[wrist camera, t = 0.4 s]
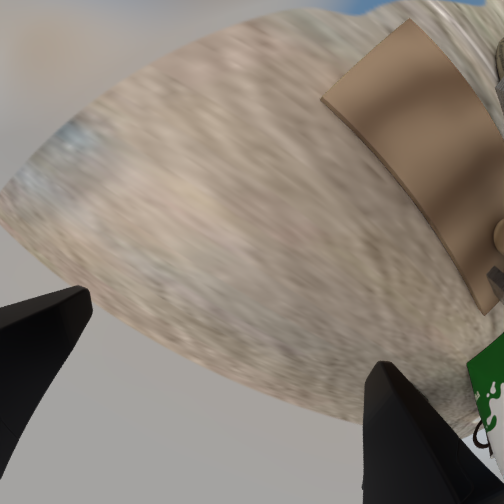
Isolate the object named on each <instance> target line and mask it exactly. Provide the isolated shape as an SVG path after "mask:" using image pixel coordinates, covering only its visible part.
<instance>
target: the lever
mask: <svg viewBox="0 0 504 504" xmlns="http://www.w3.org/2000/svg"><path fill="white" fill-rule="evenodd" d="M495 90H496V92H497V95H498V98H499V101H500V104H501V108H502V111H503V114H504V77H503V78H502V79H501V81H500V82H499V83H498V85H497V86H496V87H495Z"/></svg>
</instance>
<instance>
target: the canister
mask: <svg viewBox="0 0 504 504" xmlns="http://www.w3.org/2000/svg"><path fill="white" fill-rule="evenodd" d="M496 64H497V69H498V73H499V77H500V81H501V79H502V78H503V77H504V38H503V39H502V40H501V41H500V42H499V45H498V48H497V55H496Z"/></svg>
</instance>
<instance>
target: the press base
mask: <svg viewBox="0 0 504 504" xmlns="http://www.w3.org/2000/svg"><path fill="white" fill-rule="evenodd" d="M320 100H321V101H322V102H323V103H324V104H325V105H326V106H327V107H328V108H329V109H331V110H332V111H333V112H334V113H335V114H336V115H337V116H338V117H339V118H340V119H341V120H342V121H343V122H344V123H345V124H346V125H347V126H348V127H349V128H350V129H351V130H352V131H353V132H354V133H355V134H356V135H357V136H358V137H359V138H360V139H361V140H362V141H363V142H364V143H365V144H366V145H367V146H368V148H369V149H370V150H371V151H372V152H373V153H374V154H375V155H376V156H377V157H378V159H379V160H380V161H381V162H382V163H383V164H384V166H385V167H386V168H387V169H388V170H389V171H390V173H391V174H392V175H393V176H394V177H395V179H396V180H397V181H398V182H399V184H400V185H401V186H402V187H403V189H404V190H405V191H406V192H407V194H408V195H409V196H410V198H411V199H412V200H413V202H414V203H415V204H416V206H417V207H418V208H419V210H420V211H421V213H422V214H423V215H424V217H425V218H426V220H427V221H428V223H429V224H430V225H431V227H432V228H433V230H434V231H435V233H436V234H437V236H438V237H439V239H440V241H441V242H442V244H443V245H444V247H445V248H446V250H447V252H448V253H449V255H450V257H451V258H452V260H453V262H454V263H455V265H456V267H457V269H458V270H459V272H460V274H461V276H462V278H463V279H464V281H465V283H466V285H467V287H468V289H469V291H470V293H471V295H472V297H473V299H474V301H475V303H476V305H477V307H478V309H479V310H480V311H481V312H482V314H483V315H484V316H485V315H486V314H487V313H488V312H489V311H490V310H491V309H492V308H493V307H494V306H495V305H496V304H497V303H498V302H499V301H500V300H499V299H498V298H497V297H496V296H495V295H494V293H493V290H492V288H491V285H490V283H489V281H488V278H487V276H486V274H487V273H488V272H489V271H490V269H491V268H492V267H493V266H494V265H495V266H496V267H497V268H498V269H499V270H500V271H501V272H503V273H504V255H503V254H501V253H500V252H499V251H498V250H497V248H496V246H495V243H494V230H495V227H496V225H497V224H498V223H499V222H500V221H501V220H502V219H504V140H503V138H502V136H501V134H500V132H499V131H498V129H497V127H496V125H495V123H494V122H493V120H492V118H491V117H490V115H489V113H488V112H487V110H486V109H485V107H484V105H483V104H482V102H481V101H480V99H479V98H478V96H477V95H476V94H475V92H474V91H473V89H472V88H471V86H470V85H469V84H468V82H467V81H466V80H465V78H464V77H463V76H462V74H461V73H460V72H459V71H458V69H457V68H456V67H455V66H454V64H453V63H452V62H451V61H450V60H449V58H448V57H447V56H446V55H445V54H444V53H443V51H442V50H441V49H440V48H439V47H438V46H437V45H436V44H435V43H434V42H433V41H432V39H431V38H430V37H429V36H428V35H427V34H426V33H425V32H424V31H423V30H422V29H421V28H420V27H419V26H418V25H417V24H415V23H414V22H413V21H412V20H411V19H410V18H409V19H408V20H407V21H405V22H404V23H403V24H402V25H401V26H399V27H398V28H397V29H396V30H395V31H393V32H392V33H391V34H390V35H389V36H387V37H386V38H385V39H384V40H383V41H382V42H380V43H379V44H378V45H377V46H376V47H375V48H374V49H372V50H371V51H370V52H369V53H368V54H367V55H366V56H365V57H363V58H362V59H361V60H360V61H359V62H358V63H357V64H356V65H355V66H354V67H353V68H351V69H350V70H349V71H348V72H347V73H346V74H345V75H344V76H343V77H342V78H341V79H340V80H339V81H338V82H337V83H335V84H334V85H333V86H332V87H331V88H330V89H329V90H328V91H327V92H326V93H325V94H324V95H323V96H322V97H321V99H320Z"/></svg>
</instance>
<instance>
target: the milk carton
mask: <svg viewBox="0 0 504 504" xmlns="http://www.w3.org/2000/svg"><path fill="white" fill-rule="evenodd" d="M467 367H468V371H469V375H470V379H471V383H472V387H473V391H474V396H475V401H476V404H477V407H478V411H479V414H480V417H481V420H482V422H483V425H484V428H485V430H486V433H487V436H488V439H489V442H490V445H491V448H492V451H493V454H494V457H495V459H496V462H497V465H498V467H499V469H500V472H501V474H502V476H503V478H504V333H503V334H502V335H501V336H500V337H498V338H497V339H496V340H495V341H494V342H493V343H492V344H490V345H489V346H488V347H487V348H486V349H484V350H483V351H482V352H481V353H479V354H478V355H477V356H476V357H474V358H473V359H472V360H470V361H469V362H468V363H467Z"/></svg>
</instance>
